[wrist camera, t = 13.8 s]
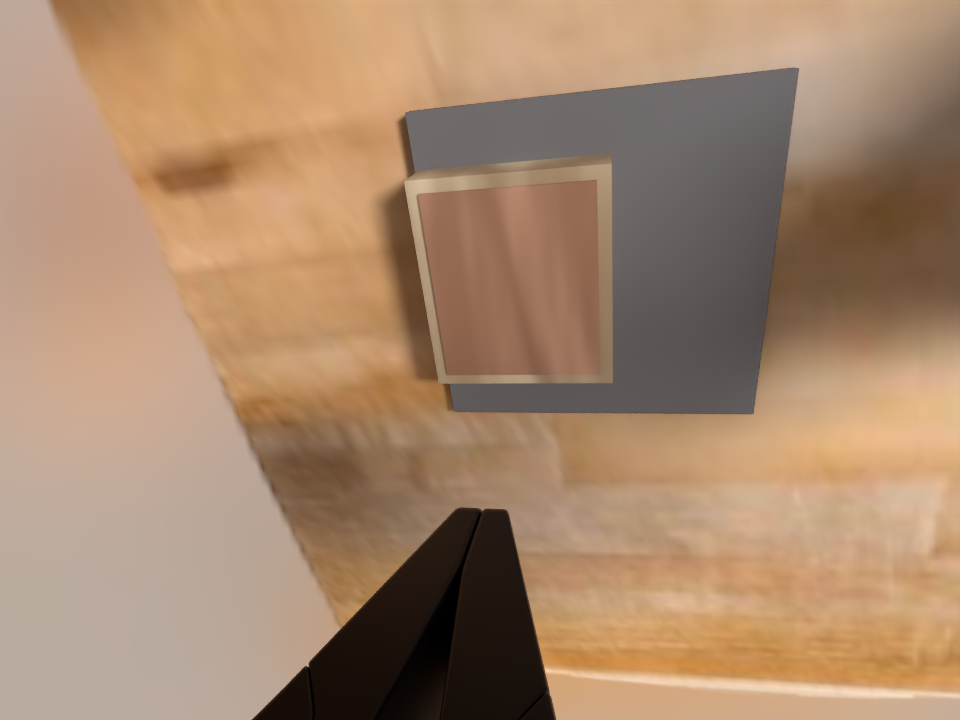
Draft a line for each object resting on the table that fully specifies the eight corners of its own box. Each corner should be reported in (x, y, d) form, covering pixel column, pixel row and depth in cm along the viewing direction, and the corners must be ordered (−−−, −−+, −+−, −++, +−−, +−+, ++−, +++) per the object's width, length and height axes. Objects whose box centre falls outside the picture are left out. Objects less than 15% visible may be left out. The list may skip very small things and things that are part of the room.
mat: (793, 67, 15) (798, 68, 15) (750, 406, 21) (753, 414, 20) (409, 111, 18) (405, 113, 17) (456, 404, 23) (454, 412, 23)
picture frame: (611, 164, 15) (402, 181, 17) (613, 384, 19) (438, 385, 20) (610, 153, 17) (418, 170, 18) (612, 360, 20) (449, 361, 21)
